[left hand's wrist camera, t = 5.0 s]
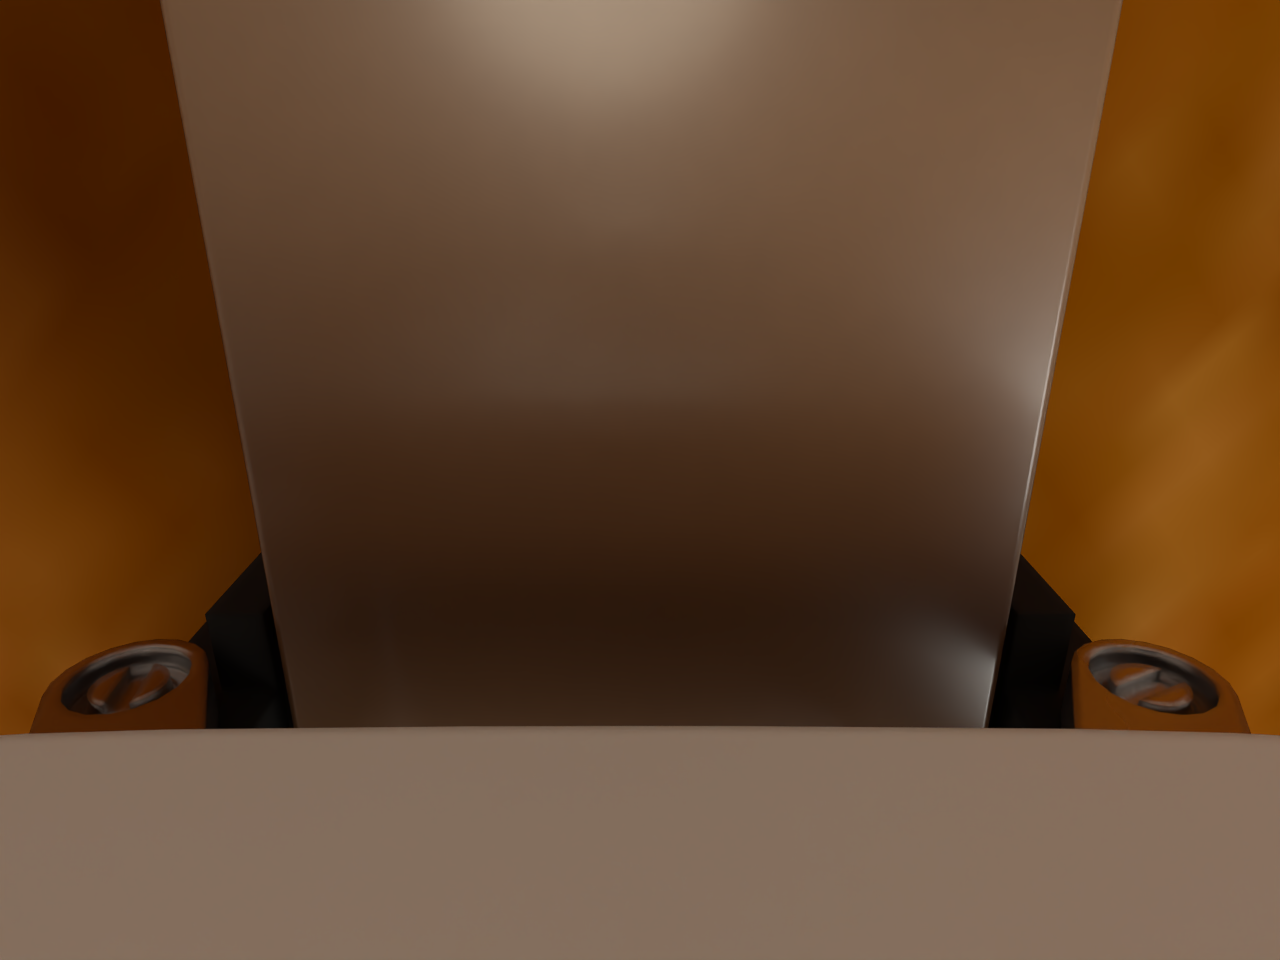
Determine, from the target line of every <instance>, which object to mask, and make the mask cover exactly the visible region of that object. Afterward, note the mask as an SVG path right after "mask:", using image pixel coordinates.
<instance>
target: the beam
mask: <svg viewBox="0 0 1280 960" xmlns="http://www.w3.org/2000/svg"><path fill="white" fill-rule="evenodd" d="M1122 2H1123V0H160V4H161V10H162V15H163V20H164V26H165V31H166V37H167V42H168V48H169V53H170V58H171V64H172V69H173V75H174V80H175V86H176V91H177V96H178V102H179V107H180V113H181V118H182V124H183V129H184V134H185V140H186V145H187V151H188V156H189V162H190V167H191V172H192V178H193V183H194V189H195V194H196V200H197V205H198V210H199V216H200V221H201V227H202V232H203V238H204V243H205V248H206V254H207V259H208V265H209V270H210V276H211V281H212V286H213V292H214V297H215V303H216V308H217V314H218V319H219V325H220V330H221V335H222V341H223V346H224V352H225V357H226V363H227V368H228V373H229V379H230V384H231V390H232V395H233V401H234V406H235V411H236V417H237V422H238V428H239V433H240V439H241V444H242V449H243V455H244V460H245V466H246V471H247V477H248V482H249V487H250V493H251V498H252V504H253V509H254V515H255V520H256V525H257V531H258V536H259V542H260V547H261V553H262V558H263V563H264V569H265V574H266V580H267V585H268V591H269V596H270V601H271V607H272V612H273V618H274V623H275V629H276V634H277V639H278V645H279V650H280V656H281V661H282V667H283V672H284V677H285V683H286V688H287V694H288V699H289V705H290V710H291V715H292V721H293V726H294V728H360V727H455V726H789V727H909V728H988V726H989V720H990V715H991V709H992V704H993V699H994V693H995V688H996V682H997V677H998V672H999V666H1000V661H1001V655H1002V650H1003V645H1004V639H1005V634H1006V628H1007V623H1008V618H1009V612H1010V607H1011V601H1012V596H1013V591H1014V585H1015V580H1016V574H1017V569H1018V564H1019V558H1020V553H1021V547H1022V542H1023V537H1024V531H1025V526H1026V520H1027V515H1028V510H1029V504H1030V499H1031V493H1032V488H1033V483H1034V477H1035V472H1036V466H1037V461H1038V456H1039V450H1040V445H1041V439H1042V434H1043V429H1044V423H1045V418H1046V412H1047V407H1048V402H1049V396H1050V391H1051V385H1052V380H1053V375H1054V369H1055V364H1056V358H1057V353H1058V348H1059V342H1060V337H1061V331H1062V326H1063V321H1064V315H1065V310H1066V304H1067V299H1068V294H1069V288H1070V283H1071V277H1072V272H1073V267H1074V261H1075V256H1076V250H1077V245H1078V240H1079V234H1080V229H1081V223H1082V218H1083V213H1084V207H1085V202H1086V196H1087V191H1088V186H1089V180H1090V175H1091V169H1092V164H1093V159H1094V153H1095V148H1096V142H1097V137H1098V132H1099V126H1100V121H1101V115H1102V110H1103V105H1104V99H1105V94H1106V88H1107V83H1108V78H1109V72H1110V67H1111V61H1112V56H1113V51H1114V45H1115V40H1116V34H1117V29H1118V24H1119V18H1120V13H1121V7H1122Z"/></svg>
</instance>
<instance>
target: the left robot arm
mask: <svg viewBox="0 0 1280 960" xmlns="http://www.w3.org/2000/svg"><path fill="white" fill-rule="evenodd" d="M205 616H206V620H207V622H206V623H205V624H204V625H203V626H202V627H201V628H200V629H199V631H198V632H197V633H196V634H195V635H194V636H193V637H192V638H191V640H190V641H189V642H186V641H182V640H171V639H155V640H148V641H140V642H133V643H130V644H126V645H122V646H118V647H114V648H111V649H108V650H106V651H103V652H101V653H98V654H95V655H93V656H90V657H88V658H86V659H84V660H82V661H81V662H79V663H77V664H75V665H74V666H72V667H70V668H68V669H67V670H65V671H64V672H63V673H62V674H61V675H60V676H58V677H57V678H56V679H55V680H54V681H52V682H51V683H50V685H49V686H48V688H47V690H46V691H45V693H44V694H43V696H42V698H41V701H40V704H39V707H38V710H37V712H36V715H35V718H34V721H33V724H32V727H31V730H30V733H29V734H16V735H2V736H0V960H1280V736H1277V735H1260V734H1251V733H1250V730H1249V727H1248V724H1247V721H1246V718H1245V715H1244V712H1243V710H1242V707H1241V704H1240V701H1239V698H1238V696H1237V694H1236V693H1235V691H1234V690H1233V688H1232V686H1231V685H1230V683H1229V682H1228V681H1226V680H1225V679H1224V678H1223V677H1222V676H1220V675H1219V674H1218V673H1217V672H1216V671H1215V670H1213V669H1212V668H1210V667H1208V666H1206V665H1205V664H1203V663H1201V662H1199V661H1198V660H1196V659H1194V658H1192V657H1190V656H1187V655H1185V654H1182V653H1179V652H1177V651H1174V650H1172V649H1169V648H1166V647H1162V646H1158V645H1154V644H1150V643H1147V642H1140V641H1132V640H1125V639H1109V640H1098V641H1094V642H1092V641H1091V640H1090V639H1089V638H1088V637H1087V636H1086V634H1085V633H1084V632H1083V631H1082V630H1081V629H1080V628H1079V627H1078V625H1077V624H1076V623H1075V622H1074V619H1075V613H1074V612H1073V611H1072V610H1071V609H1070V608H1069V607H1068V606H1067V604H1066V603H1065V602H1064V601H1063V600H1062V599H1061V598H1060V597H1059V596H1058V595H1057V593H1056V592H1055V591H1054V590H1053V589H1052V588H1051V587H1050V586H1049V585H1048V584H1047V582H1046V581H1045V580H1044V579H1043V578H1042V577H1041V576H1040V575H1039V574H1038V573H1037V571H1036V570H1035V569H1034V568H1033V567H1032V566H1031V565H1030V564H1029V563H1028V561H1027V560H1026V559H1025V558H1024V557H1023V556H1022V555H1021V554H1020V558H1019V564H1018V569H1017V574H1016V580H1015V585H1014V591H1013V596H1012V601H1011V607H1010V612H1009V618H1008V623H1007V628H1006V634H1005V639H1004V645H1003V650H1002V655H1001V661H1000V666H999V672H998V677H997V682H996V688H995V693H994V699H993V704H992V709H991V715H990V720H989V726H988V728H909V727H789V726H455V727H360V728H294V726H293V721H292V715H291V710H290V705H289V699H288V694H287V688H286V683H285V677H284V672H283V667H282V661H281V656H280V650H279V645H278V639H277V634H276V629H275V623H274V618H273V612H272V607H271V601H270V596H269V591H268V585H267V580H266V574H265V569H264V563H263V558H262V553H260V554H259V556H258V557H257V558H256V559H255V560H254V561H253V562H252V563H251V564H250V565H249V567H248V568H247V569H246V570H245V571H244V572H243V573H242V574H241V575H240V576H239V578H238V579H237V580H236V581H235V582H234V583H233V584H232V585H231V586H230V588H229V589H228V590H227V591H226V592H225V593H224V594H223V595H222V596H221V597H220V599H219V600H218V601H217V602H216V603H215V604H214V605H213V606H212V607H211V608H210V610H209V611H208V612H207V613H206V614H205Z"/></svg>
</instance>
